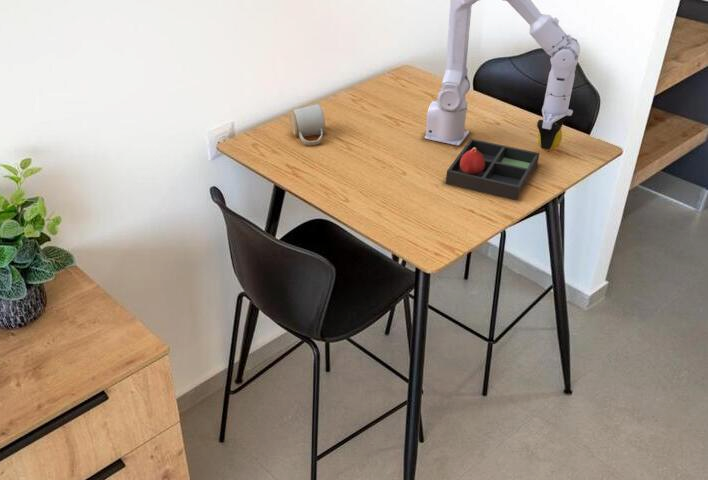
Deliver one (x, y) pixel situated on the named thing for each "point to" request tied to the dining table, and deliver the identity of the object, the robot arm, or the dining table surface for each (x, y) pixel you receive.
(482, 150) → the divided tray
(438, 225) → the dining table surface
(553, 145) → the lemon
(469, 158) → the onion
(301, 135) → the ceramic mug
